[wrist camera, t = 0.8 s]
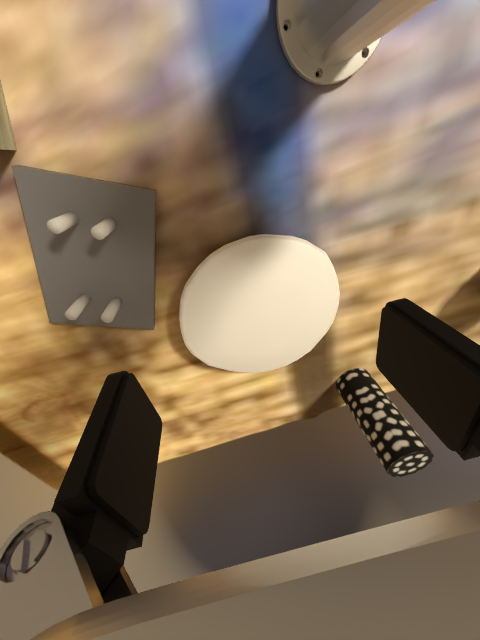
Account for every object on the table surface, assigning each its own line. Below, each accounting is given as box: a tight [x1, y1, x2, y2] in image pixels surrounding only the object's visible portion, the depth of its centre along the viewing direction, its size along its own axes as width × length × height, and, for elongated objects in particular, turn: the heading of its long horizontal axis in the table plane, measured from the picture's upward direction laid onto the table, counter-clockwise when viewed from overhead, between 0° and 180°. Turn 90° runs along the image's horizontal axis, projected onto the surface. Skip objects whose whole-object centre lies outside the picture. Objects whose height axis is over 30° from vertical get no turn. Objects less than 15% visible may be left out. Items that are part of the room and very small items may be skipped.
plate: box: [179, 234, 340, 373], centre depth 44 cm, size 28×6×27 cm
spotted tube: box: [336, 368, 434, 477], centre depth 53 cm, size 8×8×20 cm
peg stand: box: [12, 165, 156, 330], centre depth 35 cm, size 22×16×6 cm
